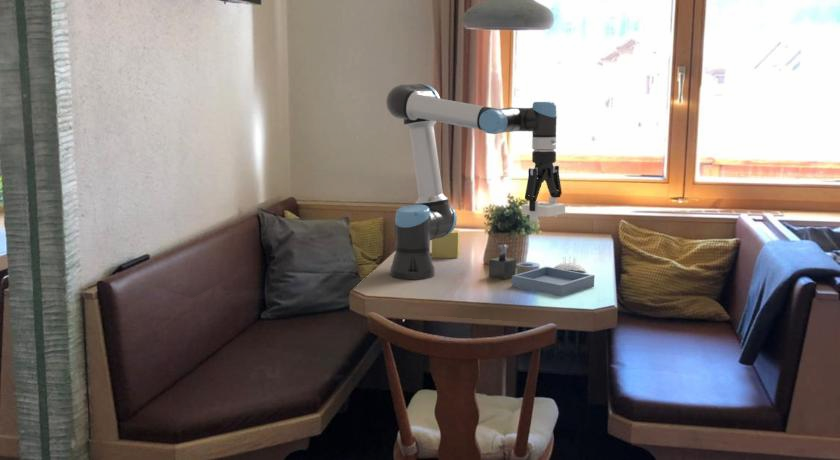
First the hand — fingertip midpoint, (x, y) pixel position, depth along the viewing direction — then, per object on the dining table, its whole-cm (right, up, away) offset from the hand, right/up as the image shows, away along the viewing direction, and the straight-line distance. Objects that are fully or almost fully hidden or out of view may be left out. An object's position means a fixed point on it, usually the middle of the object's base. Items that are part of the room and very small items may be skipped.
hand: (543, 219), depth 279 cm
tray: (+3, -22, +1) cm, 22 cm away
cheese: (-30, -13, +48) cm, 58 cm away
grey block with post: (-12, -19, +13) cm, 27 cm away
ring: (0, +2, 0) cm, 2 cm away
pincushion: (+13, -18, +23) cm, 32 cm away
